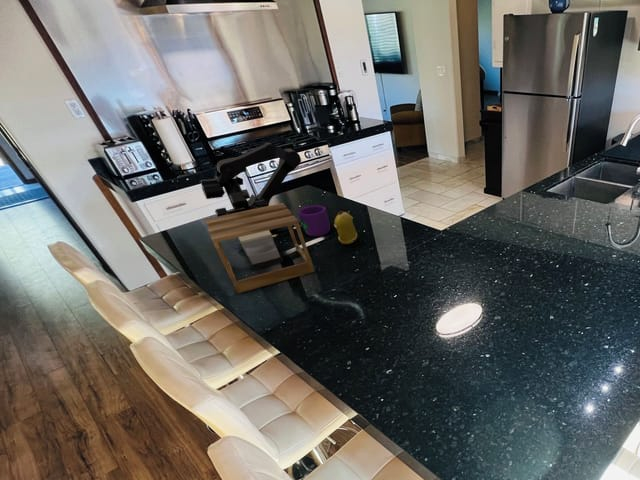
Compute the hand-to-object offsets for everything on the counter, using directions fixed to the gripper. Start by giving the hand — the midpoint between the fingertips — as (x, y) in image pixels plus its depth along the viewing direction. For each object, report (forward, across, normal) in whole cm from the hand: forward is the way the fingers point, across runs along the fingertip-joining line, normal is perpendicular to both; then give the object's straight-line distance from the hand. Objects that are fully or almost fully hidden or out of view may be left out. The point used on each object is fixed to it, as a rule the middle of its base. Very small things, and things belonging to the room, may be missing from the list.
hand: (251, 230), depth 160 cm
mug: (+3, +24, +8) cm, 26 cm away
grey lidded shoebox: (+14, 0, -3) cm, 14 cm away
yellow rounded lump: (+18, +32, -7) cm, 38 cm away
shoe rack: (+22, 0, -11) cm, 25 cm away
